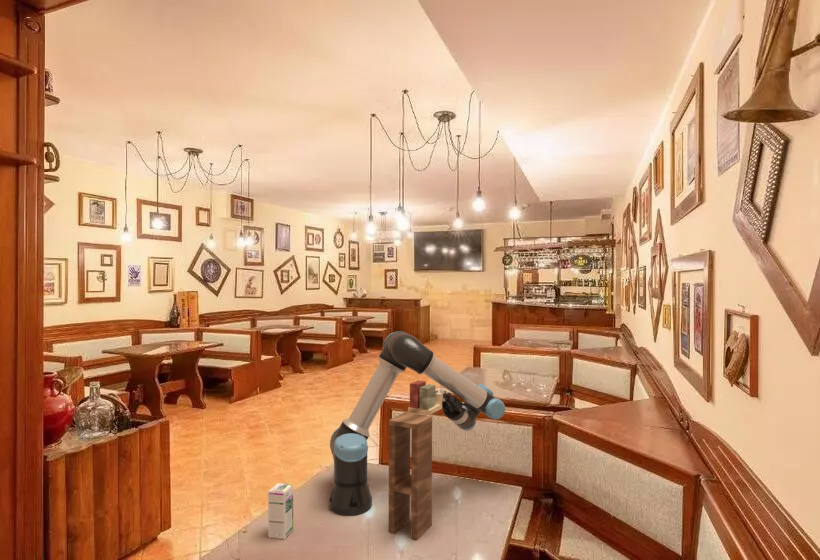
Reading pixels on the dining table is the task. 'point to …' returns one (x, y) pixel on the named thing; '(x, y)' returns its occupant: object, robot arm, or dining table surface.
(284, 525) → the syrup box
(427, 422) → the walnut shelf
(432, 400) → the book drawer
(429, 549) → the dining table surface
